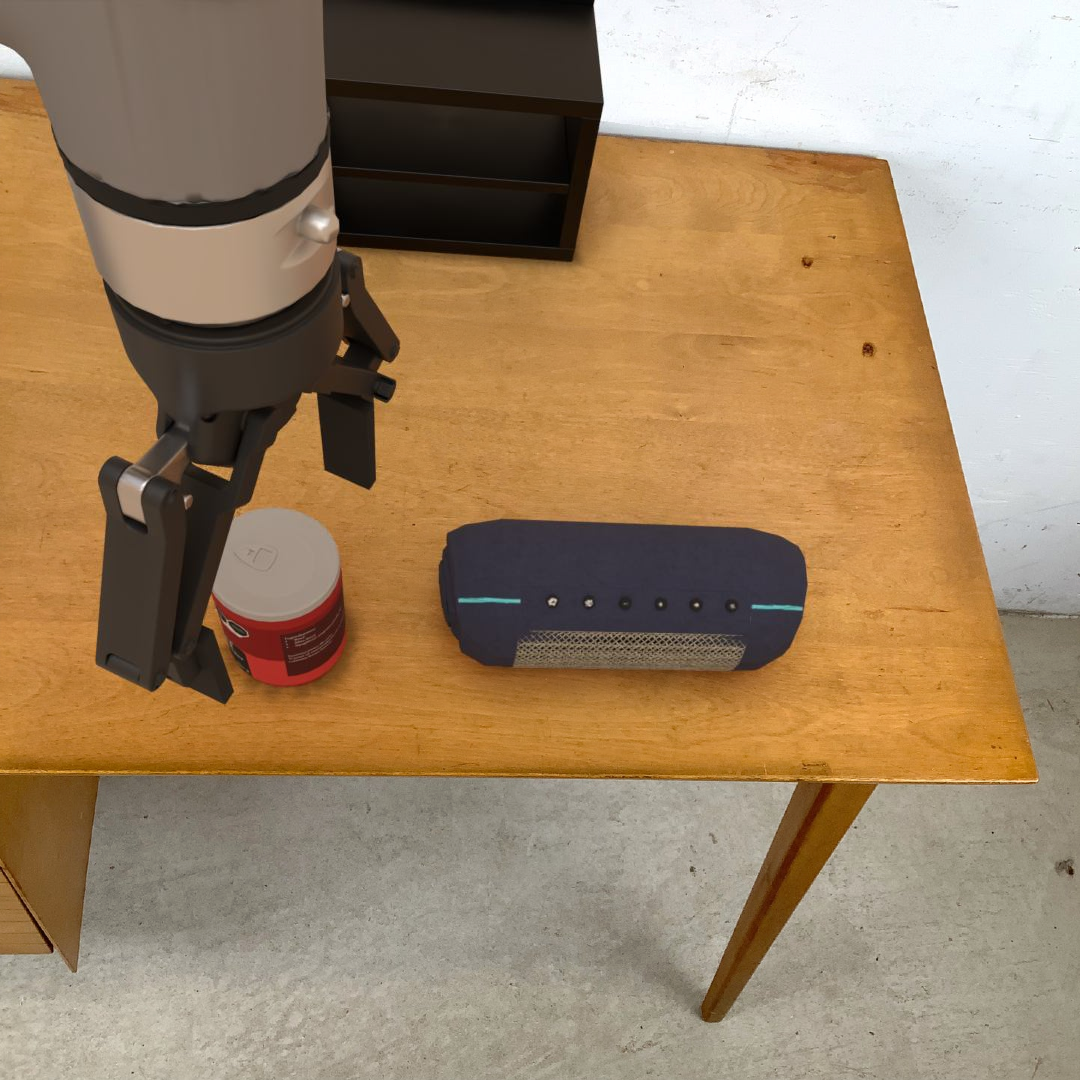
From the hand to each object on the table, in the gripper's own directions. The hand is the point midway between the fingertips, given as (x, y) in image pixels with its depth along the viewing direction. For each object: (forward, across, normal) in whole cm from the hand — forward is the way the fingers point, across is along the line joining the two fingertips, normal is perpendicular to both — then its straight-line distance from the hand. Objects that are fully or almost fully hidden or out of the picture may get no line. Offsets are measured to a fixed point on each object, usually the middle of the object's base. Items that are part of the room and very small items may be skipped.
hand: (282, 573), depth 51 cm
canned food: (+20, +4, +4) cm, 21 cm away
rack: (+20, +50, +15) cm, 55 cm away
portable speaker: (+20, +15, -16) cm, 29 cm away
